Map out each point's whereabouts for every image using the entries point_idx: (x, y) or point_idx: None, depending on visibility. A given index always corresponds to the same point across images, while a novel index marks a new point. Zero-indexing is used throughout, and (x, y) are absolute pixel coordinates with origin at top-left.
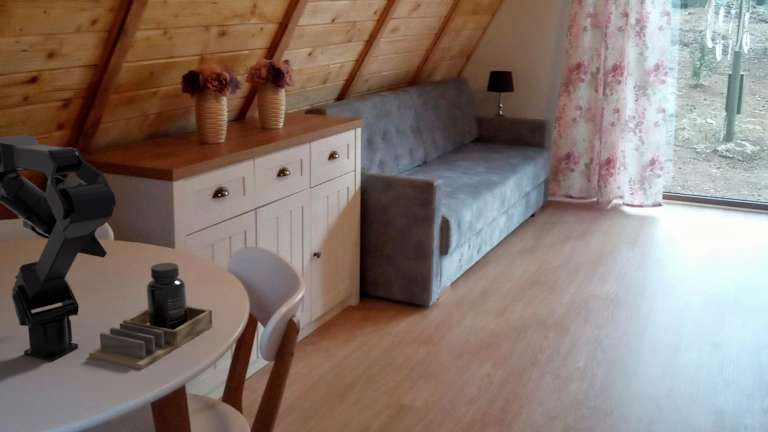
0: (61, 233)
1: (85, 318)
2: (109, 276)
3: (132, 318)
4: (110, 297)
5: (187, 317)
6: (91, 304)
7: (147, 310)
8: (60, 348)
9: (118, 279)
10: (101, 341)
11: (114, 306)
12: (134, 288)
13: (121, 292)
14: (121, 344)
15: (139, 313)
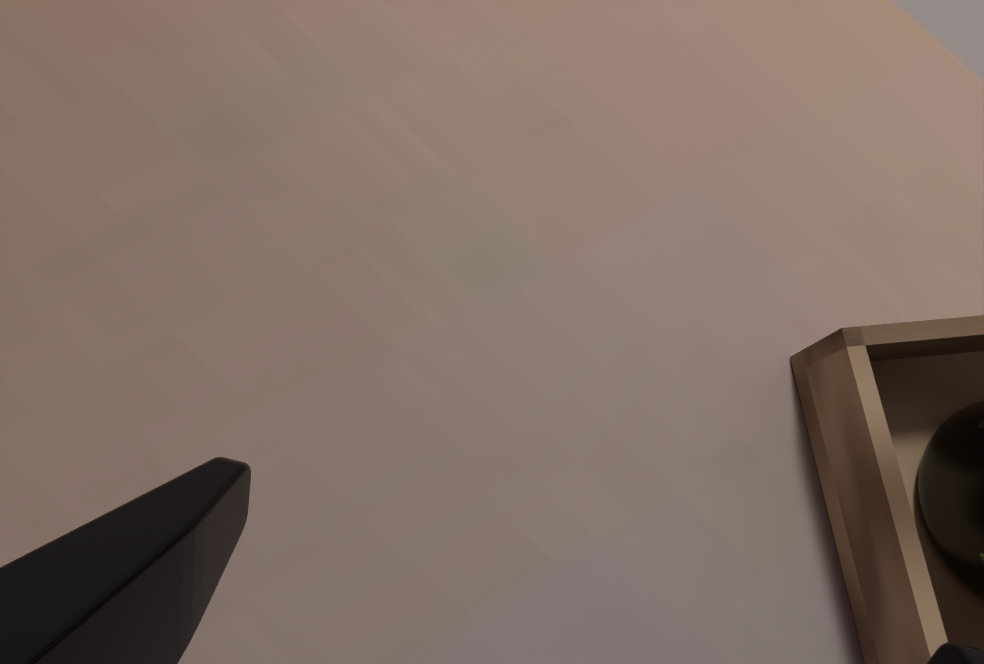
0: None
1: (443, 614)
2: (59, 54)
3: None
4: (314, 287)
5: (981, 348)
6: (298, 425)
7: (906, 497)
8: None
9: (144, 66)
10: None
11: (443, 378)
12: (331, 125)
13: (312, 201)
14: None
15: (917, 568)
